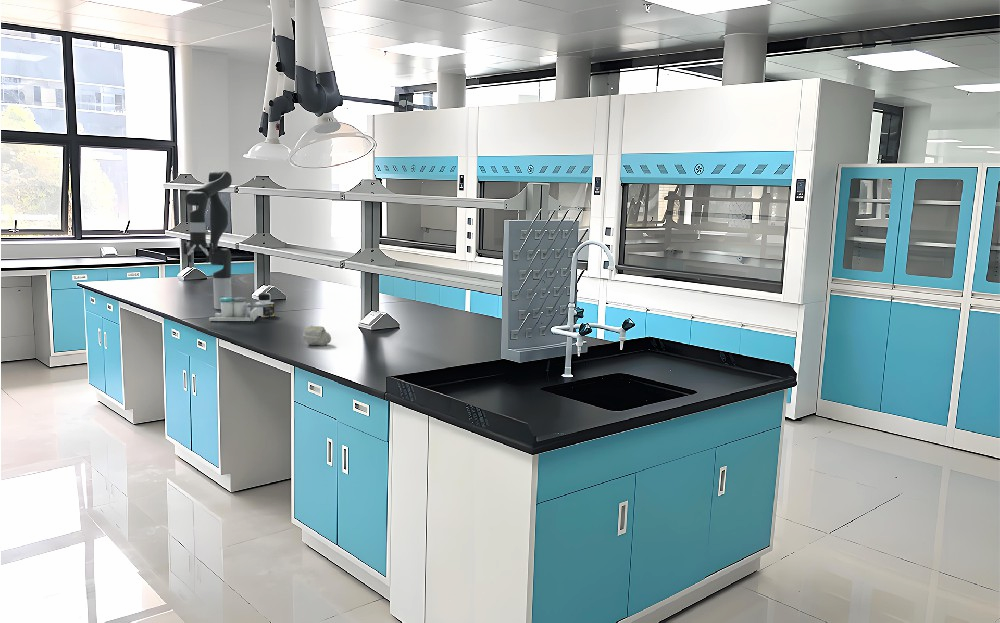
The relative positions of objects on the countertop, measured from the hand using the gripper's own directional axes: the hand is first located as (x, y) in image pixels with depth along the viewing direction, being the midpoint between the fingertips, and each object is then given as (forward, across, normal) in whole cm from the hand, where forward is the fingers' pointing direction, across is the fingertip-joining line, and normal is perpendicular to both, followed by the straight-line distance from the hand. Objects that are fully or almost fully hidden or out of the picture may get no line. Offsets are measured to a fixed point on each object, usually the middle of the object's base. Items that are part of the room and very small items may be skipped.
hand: (198, 262), depth 392 cm
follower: (+28, -30, +9) cm, 42 cm away
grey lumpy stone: (+28, -65, +72) cm, 101 cm away
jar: (+28, -15, +9) cm, 33 cm away
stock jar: (+28, -21, +9) cm, 36 cm away
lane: (+28, -18, +9) cm, 35 cm away
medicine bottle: (+28, -32, -2) cm, 43 cm away
